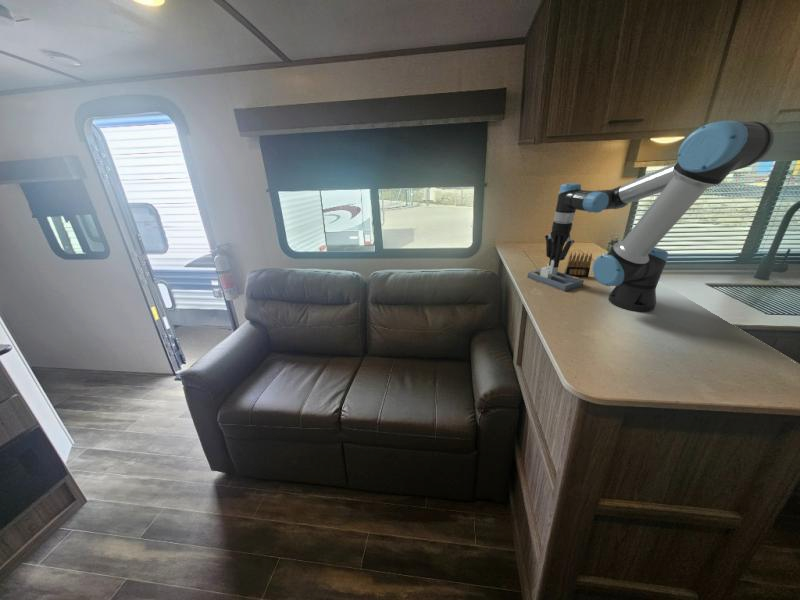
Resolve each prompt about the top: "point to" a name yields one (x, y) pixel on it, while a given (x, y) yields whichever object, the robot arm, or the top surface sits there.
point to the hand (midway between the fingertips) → (551, 273)
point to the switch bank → (557, 280)
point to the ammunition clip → (578, 265)
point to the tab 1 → (545, 272)
